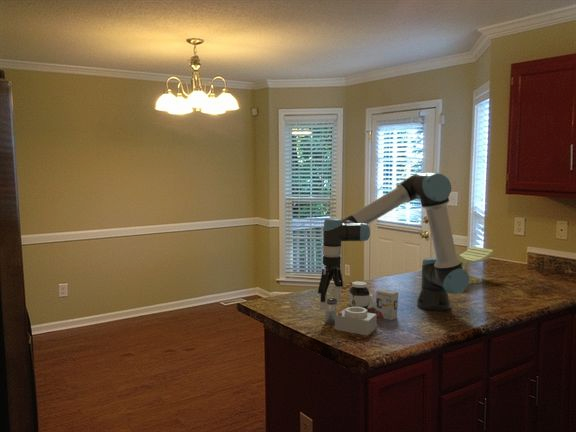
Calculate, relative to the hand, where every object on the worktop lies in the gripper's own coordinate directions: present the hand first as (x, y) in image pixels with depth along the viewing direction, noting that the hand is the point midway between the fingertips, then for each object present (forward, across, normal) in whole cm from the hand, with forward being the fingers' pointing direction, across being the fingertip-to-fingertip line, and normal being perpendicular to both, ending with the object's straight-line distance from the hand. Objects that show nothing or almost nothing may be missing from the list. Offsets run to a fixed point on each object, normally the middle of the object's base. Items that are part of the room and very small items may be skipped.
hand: (330, 305), depth 206 cm
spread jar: (+8, -28, +4) cm, 30 cm away
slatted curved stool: (+6, -109, +35) cm, 115 cm away
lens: (+8, 0, 0) cm, 8 cm away
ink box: (+7, -19, +18) cm, 28 cm away
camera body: (+8, +2, +12) cm, 15 cm away
